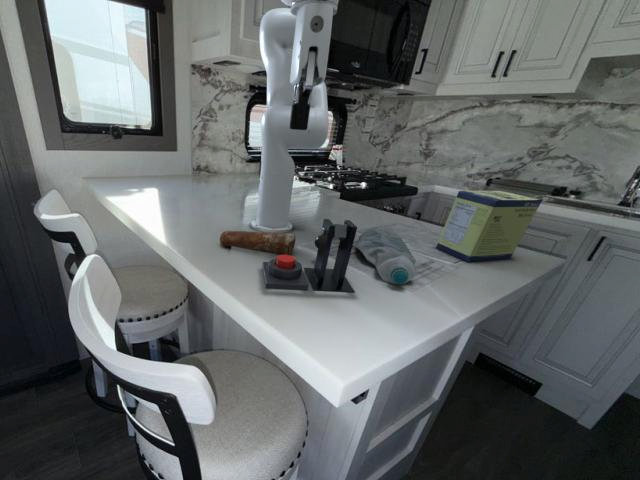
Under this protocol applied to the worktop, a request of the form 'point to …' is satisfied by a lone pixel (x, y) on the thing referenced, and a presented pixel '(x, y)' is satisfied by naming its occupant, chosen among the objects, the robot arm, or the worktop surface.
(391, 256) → the crushed plastic bottle
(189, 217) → the worktop surface
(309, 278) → the bracket
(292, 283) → the button block
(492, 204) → the protein box
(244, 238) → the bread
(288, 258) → the button
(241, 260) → the worktop surface
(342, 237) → the lever
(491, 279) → the worktop surface
